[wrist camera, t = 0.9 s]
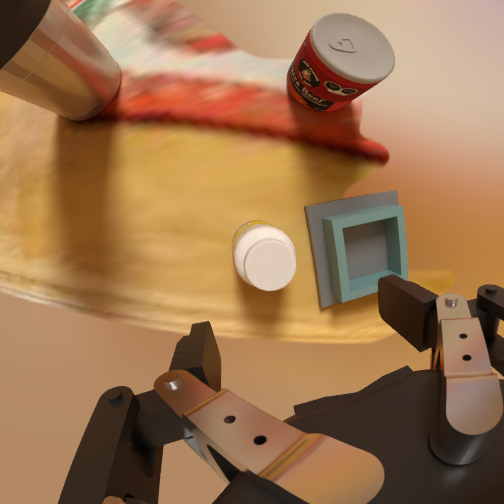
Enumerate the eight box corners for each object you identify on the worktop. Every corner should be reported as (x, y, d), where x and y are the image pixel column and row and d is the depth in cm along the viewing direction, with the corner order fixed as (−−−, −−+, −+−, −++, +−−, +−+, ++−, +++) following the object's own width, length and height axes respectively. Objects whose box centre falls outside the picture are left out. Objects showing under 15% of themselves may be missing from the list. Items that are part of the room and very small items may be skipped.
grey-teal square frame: (304, 206, 30) (315, 208, 26) (392, 190, 30) (410, 190, 26) (319, 304, 32) (330, 318, 29) (400, 280, 33) (417, 289, 29)
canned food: (272, 71, 26) (293, 20, 16) (326, 51, 26) (362, 6, 15) (307, 124, 28) (347, 93, 17) (359, 101, 28) (409, 70, 17)
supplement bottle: (279, 268, 31) (301, 300, 22) (231, 267, 31) (233, 300, 21) (282, 220, 30) (308, 233, 20) (233, 218, 29) (235, 229, 20)
